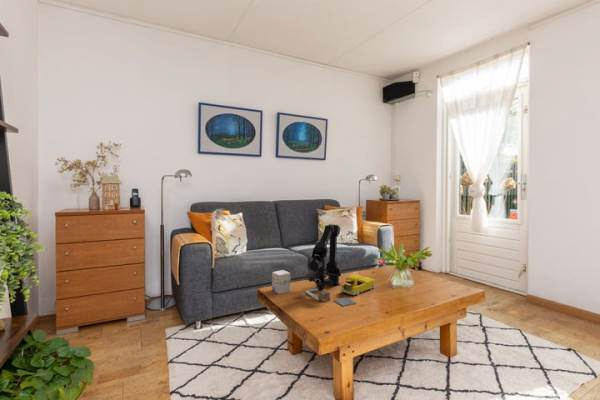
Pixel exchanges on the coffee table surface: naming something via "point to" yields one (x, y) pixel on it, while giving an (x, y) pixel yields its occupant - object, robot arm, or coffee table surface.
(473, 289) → the coffee table surface
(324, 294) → the walnut block
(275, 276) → the ink box
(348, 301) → the slate coaster
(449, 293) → the coffee table surface
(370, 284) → the toy car
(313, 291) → the acrylic channel
